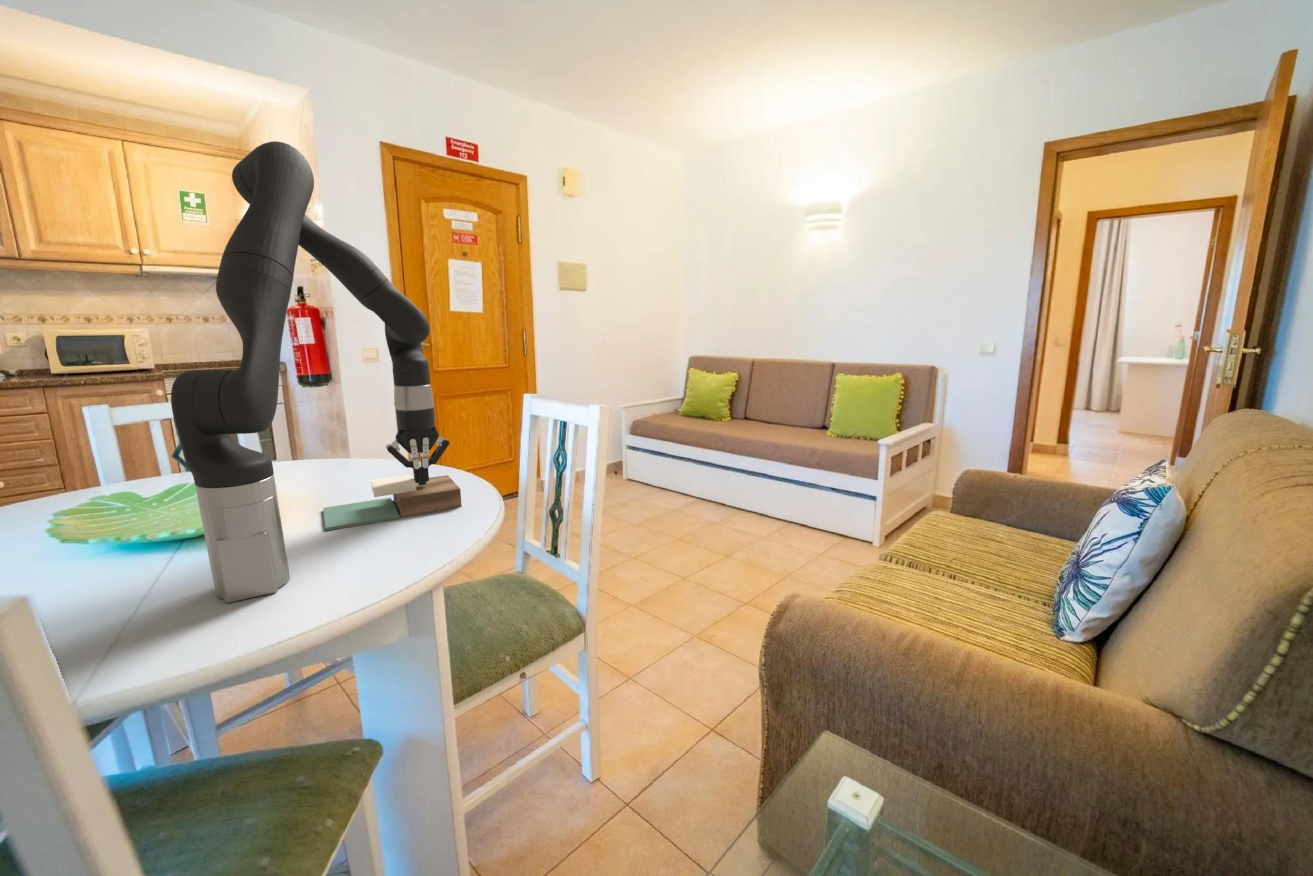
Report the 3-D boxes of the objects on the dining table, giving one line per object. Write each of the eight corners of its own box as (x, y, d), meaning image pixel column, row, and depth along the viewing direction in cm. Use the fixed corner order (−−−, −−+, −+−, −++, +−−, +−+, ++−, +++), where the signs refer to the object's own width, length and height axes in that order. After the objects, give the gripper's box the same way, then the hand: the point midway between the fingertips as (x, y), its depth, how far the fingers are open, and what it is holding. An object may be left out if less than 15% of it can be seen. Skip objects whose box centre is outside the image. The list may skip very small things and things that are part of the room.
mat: (399, 518, 110) (399, 515, 110) (325, 531, 103) (325, 528, 103) (390, 499, 120) (390, 497, 120) (323, 510, 114) (323, 507, 113)
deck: (461, 506, 117) (460, 488, 116) (401, 516, 110) (399, 498, 110) (449, 491, 127) (448, 475, 126) (393, 500, 120) (391, 483, 119)
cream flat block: (416, 490, 114) (415, 482, 114) (374, 497, 110) (373, 488, 110) (412, 483, 119) (411, 474, 119) (372, 489, 115) (371, 480, 115)
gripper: (381, 411, 106) (390, 493, 110) (451, 405, 113) (457, 483, 117) (377, 405, 113) (386, 484, 117) (443, 401, 120) (450, 475, 123)
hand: (422, 484), depth 117 cm, fingers closed
